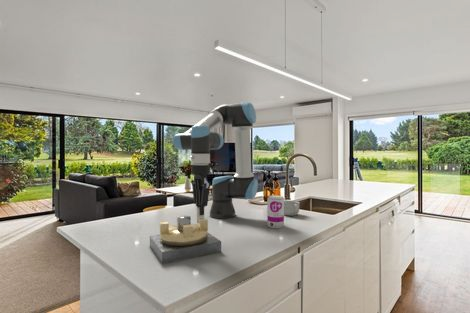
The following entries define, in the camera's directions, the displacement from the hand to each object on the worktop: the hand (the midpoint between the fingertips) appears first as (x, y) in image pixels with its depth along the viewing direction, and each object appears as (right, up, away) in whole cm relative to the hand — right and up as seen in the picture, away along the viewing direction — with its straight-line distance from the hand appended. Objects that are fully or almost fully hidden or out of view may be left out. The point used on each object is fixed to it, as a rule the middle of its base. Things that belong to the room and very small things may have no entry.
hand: (200, 222), depth 109 cm
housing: (-6, -9, -5) cm, 12 cm away
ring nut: (-6, -5, -5) cm, 9 cm away
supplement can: (+34, -9, +26) cm, 44 cm away
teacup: (+47, -8, +49) cm, 69 cm away
